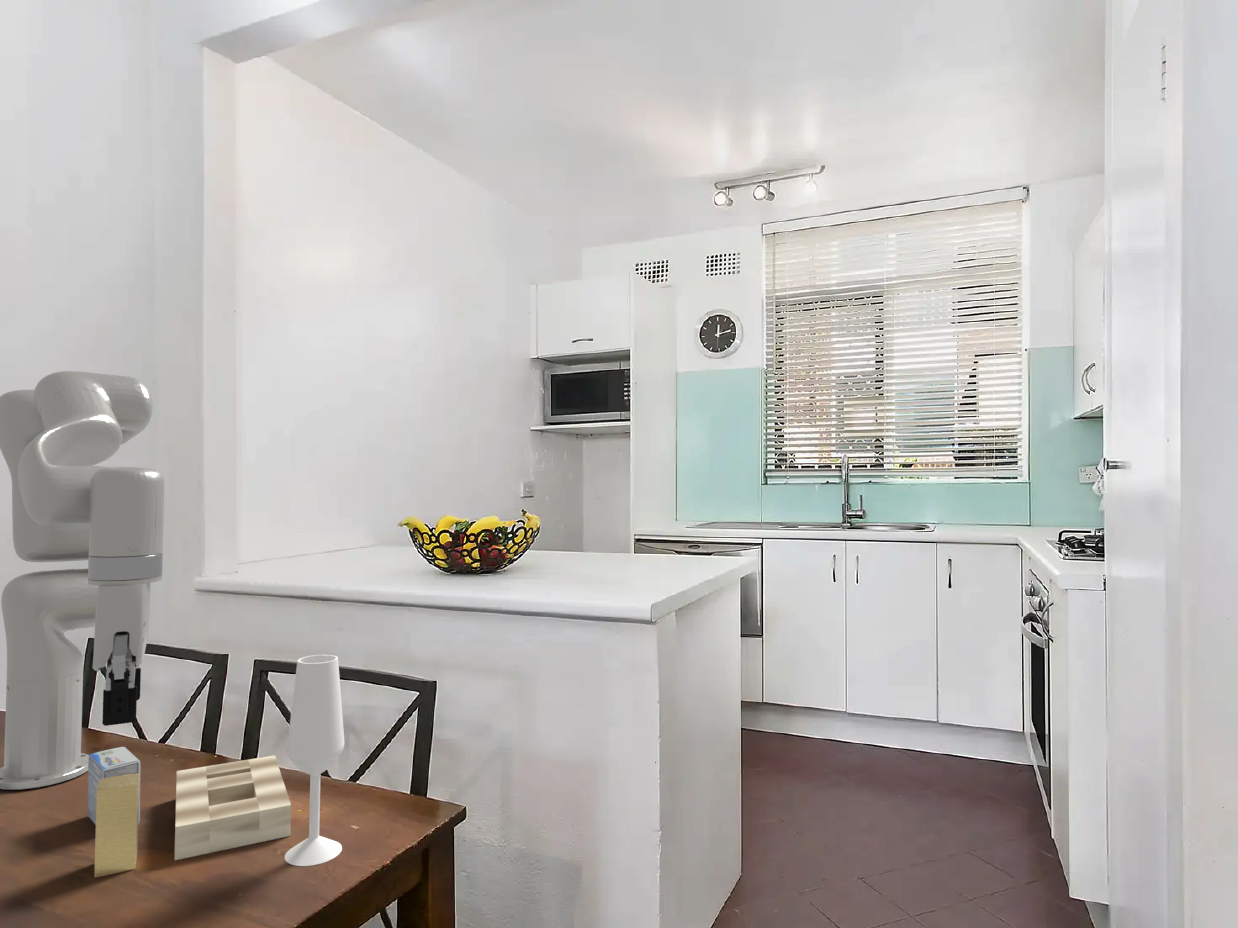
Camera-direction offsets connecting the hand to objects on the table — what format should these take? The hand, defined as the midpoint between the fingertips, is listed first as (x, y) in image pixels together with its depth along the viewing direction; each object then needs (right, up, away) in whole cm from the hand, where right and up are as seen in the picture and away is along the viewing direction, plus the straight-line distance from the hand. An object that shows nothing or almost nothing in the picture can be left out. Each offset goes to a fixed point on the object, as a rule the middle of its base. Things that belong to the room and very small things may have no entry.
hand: (122, 711), depth 90 cm
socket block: (+6, -19, +13) cm, 23 cm away
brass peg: (0, -18, 0) cm, 18 cm away
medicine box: (-9, -19, +11) cm, 23 cm away
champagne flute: (+22, -19, +3) cm, 29 cm away
